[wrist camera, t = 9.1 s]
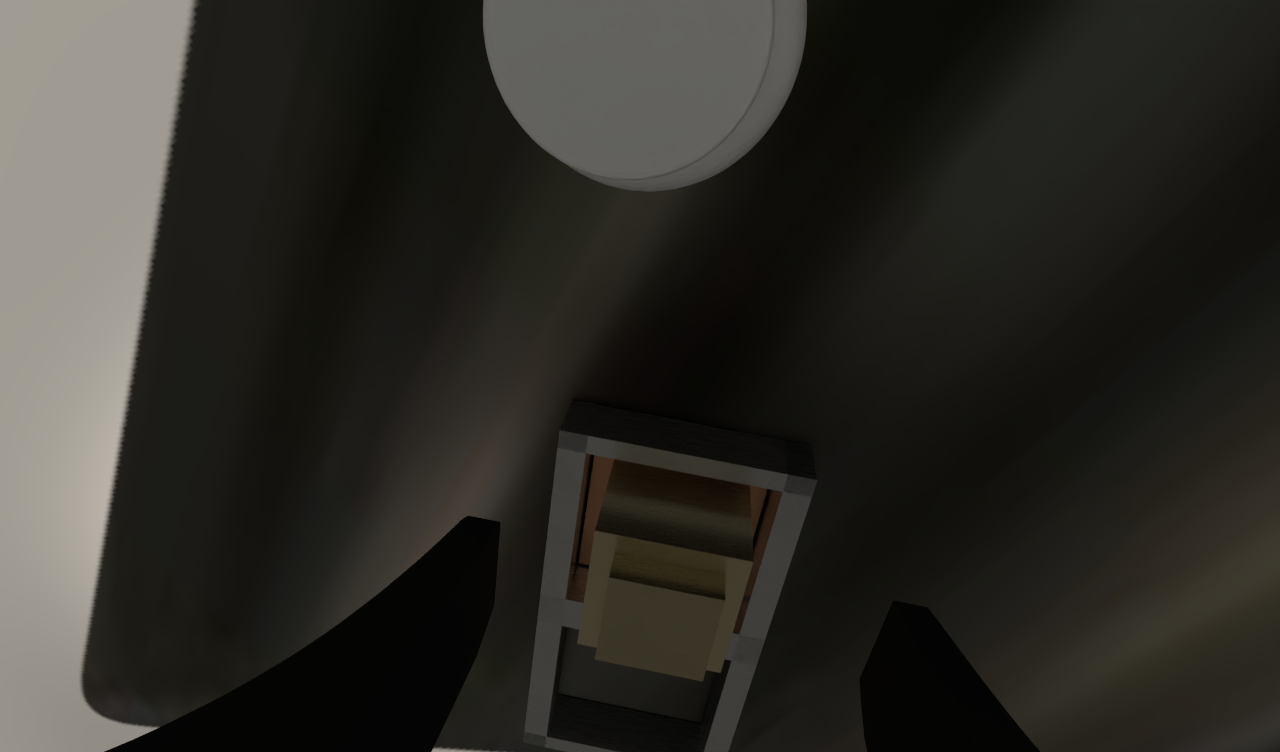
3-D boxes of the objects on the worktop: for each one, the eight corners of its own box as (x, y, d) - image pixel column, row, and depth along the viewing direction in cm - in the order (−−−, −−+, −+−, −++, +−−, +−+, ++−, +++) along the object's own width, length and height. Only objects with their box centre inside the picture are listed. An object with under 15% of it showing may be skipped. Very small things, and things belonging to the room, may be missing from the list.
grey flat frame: (718, 738, 30) (717, 783, 28) (535, 700, 30) (523, 742, 28) (810, 445, 23) (817, 480, 21) (572, 399, 23) (559, 430, 21)
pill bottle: (813, 86, 18) (890, 132, 9) (631, 177, 20) (552, 288, 11) (730, -138, 16) (729, -340, 7) (536, -17, 18) (350, -69, 9)
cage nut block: (722, 571, 25) (720, 700, 20) (601, 547, 25) (570, 670, 20) (749, 471, 23) (754, 587, 18) (618, 445, 23) (588, 554, 18)
